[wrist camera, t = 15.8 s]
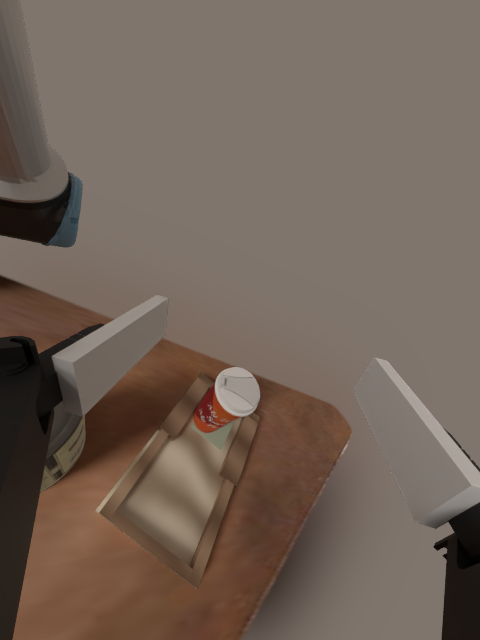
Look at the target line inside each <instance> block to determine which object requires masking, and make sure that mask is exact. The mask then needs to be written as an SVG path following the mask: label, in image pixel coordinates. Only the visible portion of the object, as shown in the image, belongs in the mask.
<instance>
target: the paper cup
mask: <svg viewBox="0 0 480 640" xmlns="http://www.w3.org/2000/svg"><path fill="white" fill-rule="evenodd" d="M259 400H260V390H259V386H258V383H257V381H256V379H255V378H254V376H253V375H252V374H251V373H250V372H249V371H247V370H245V369H243V368H240V367H233V368H228V369H225V370H223V371H222V372H221V373H220V374H219V375H218V376H217V379H216V382H215V383H214V385H213V386H212V387H211V389H210V390H209V391H208V392H207V394H206V395H205V396H204V398H203V399H202V401H201V402H200V403H199V405H198V406H197V408H196V409H195V412H194V416H193V418H194V423H195V425H196V427H197V428H198V429H199V430H200V431H202V432H204V433H210V432H213V431H215V430H217V429H219V428H221V427H223V426H225V425H227V424H229V423H230V422H232V421H234V420H236V419H238V418H240V417H244V416H248V415H250V414H251V413H253V412H254V410H255V409H256V407H257V405H258V403H259Z"/></svg>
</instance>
